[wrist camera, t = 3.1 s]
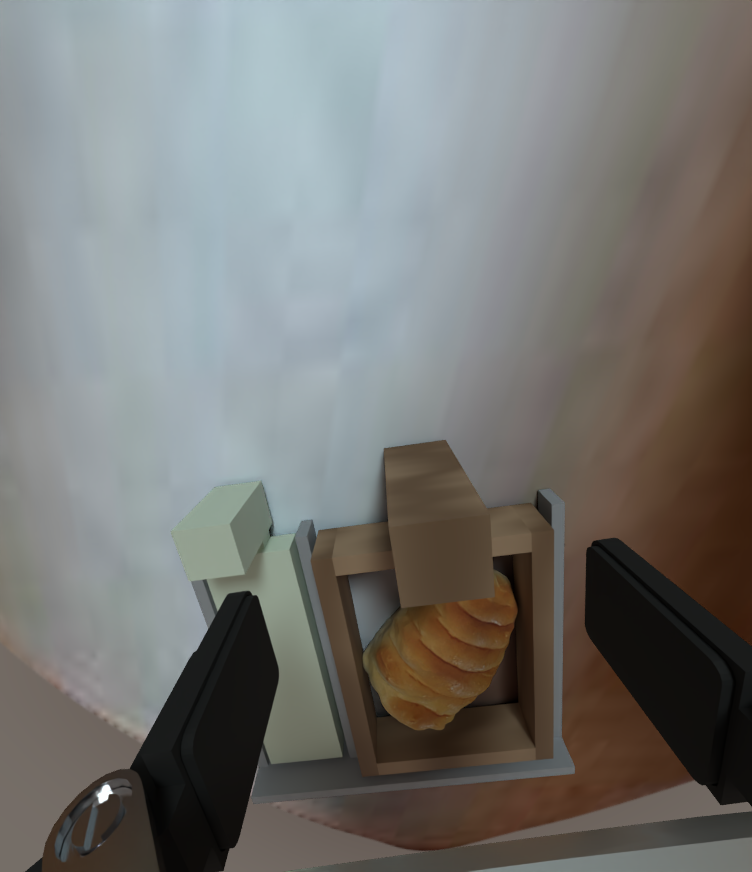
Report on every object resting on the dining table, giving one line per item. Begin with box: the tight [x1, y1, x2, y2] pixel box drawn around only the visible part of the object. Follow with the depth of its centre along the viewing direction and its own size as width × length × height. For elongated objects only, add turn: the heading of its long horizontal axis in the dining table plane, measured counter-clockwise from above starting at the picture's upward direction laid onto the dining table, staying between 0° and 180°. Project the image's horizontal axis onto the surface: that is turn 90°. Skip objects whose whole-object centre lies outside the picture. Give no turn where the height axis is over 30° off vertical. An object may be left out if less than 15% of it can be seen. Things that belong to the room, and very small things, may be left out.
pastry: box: [362, 569, 518, 730], centre depth 19 cm, size 9×7×4 cm
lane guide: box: [191, 489, 575, 804], centre depth 20 cm, size 19×17×3 cm
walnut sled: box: [310, 440, 554, 777], centre depth 17 cm, size 11×19×7 cm, turn 8°
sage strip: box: [171, 481, 344, 764], centre depth 19 cm, size 4×18×4 cm, turn 8°
